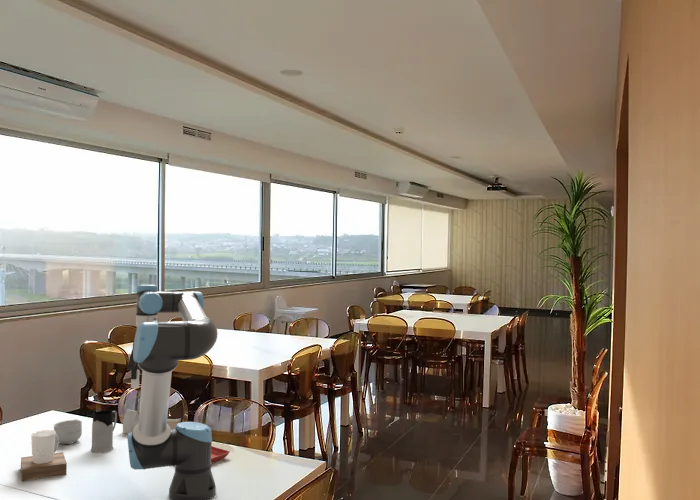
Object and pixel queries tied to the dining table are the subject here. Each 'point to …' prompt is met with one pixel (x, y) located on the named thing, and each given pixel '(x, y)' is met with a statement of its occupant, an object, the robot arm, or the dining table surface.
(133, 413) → the tea bag
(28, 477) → the walnut base
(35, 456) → the white cup
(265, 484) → the dining table surface
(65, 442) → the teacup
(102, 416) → the gray pitcher
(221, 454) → the plant saucer
